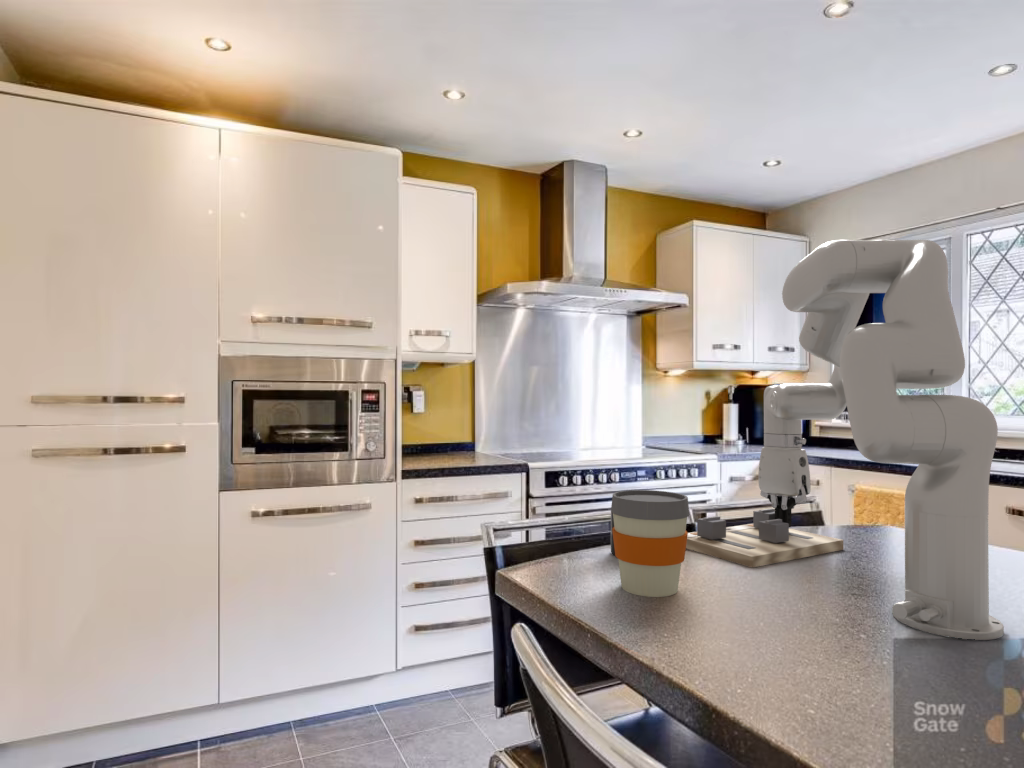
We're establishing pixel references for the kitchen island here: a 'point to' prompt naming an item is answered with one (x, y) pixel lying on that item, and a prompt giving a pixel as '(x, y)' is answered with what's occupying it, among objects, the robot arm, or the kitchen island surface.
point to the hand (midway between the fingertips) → (783, 526)
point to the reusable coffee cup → (650, 540)
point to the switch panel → (762, 546)
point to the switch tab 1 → (711, 528)
